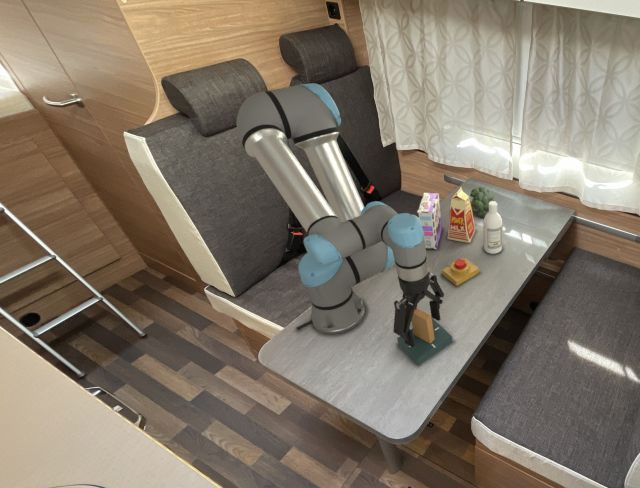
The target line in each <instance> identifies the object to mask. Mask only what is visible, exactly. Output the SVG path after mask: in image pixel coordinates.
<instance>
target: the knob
mask: <svg viewBox="0 0 640 488" xmlns="http://www.w3.org/2000/svg"><path fill="white" fill-rule="evenodd" d="M411 325H412V326H411V327H412V329H413V332H414V335H415V336H417V337H419V338H421V339H423V340H425V341H426V342H428V343H431V342H432V341H433V340H434V339H435V338H434V331H433V324H432V318H431V314H429V313H428V312H425V311H424V310H421V309H420V308H416V309H415V310H414V313H413V317H412V321H411Z"/></svg>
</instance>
